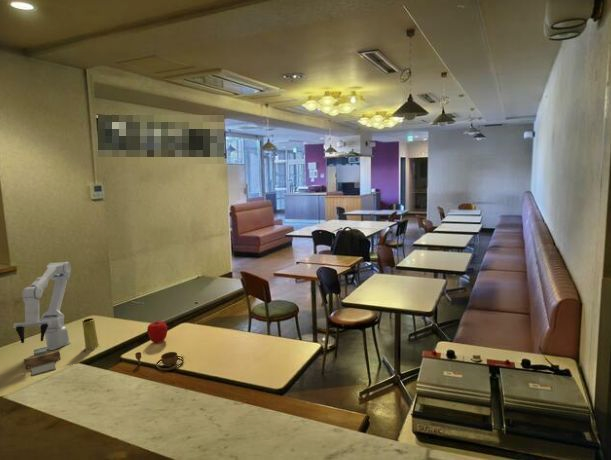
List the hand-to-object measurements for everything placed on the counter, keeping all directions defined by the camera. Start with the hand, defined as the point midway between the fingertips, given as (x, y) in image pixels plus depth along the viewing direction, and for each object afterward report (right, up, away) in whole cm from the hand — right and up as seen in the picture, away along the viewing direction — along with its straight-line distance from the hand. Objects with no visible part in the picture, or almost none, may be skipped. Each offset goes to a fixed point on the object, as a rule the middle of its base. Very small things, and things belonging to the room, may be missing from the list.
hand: (32, 341), depth 195 cm
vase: (+20, -7, +15) cm, 26 cm away
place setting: (+64, -9, -5) cm, 64 cm away
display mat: (+9, -11, -6) cm, 15 cm away
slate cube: (+2, -10, +3) cm, 10 cm away
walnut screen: (+5, -10, 0) cm, 11 cm away
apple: (+53, -5, +17) cm, 56 cm away
